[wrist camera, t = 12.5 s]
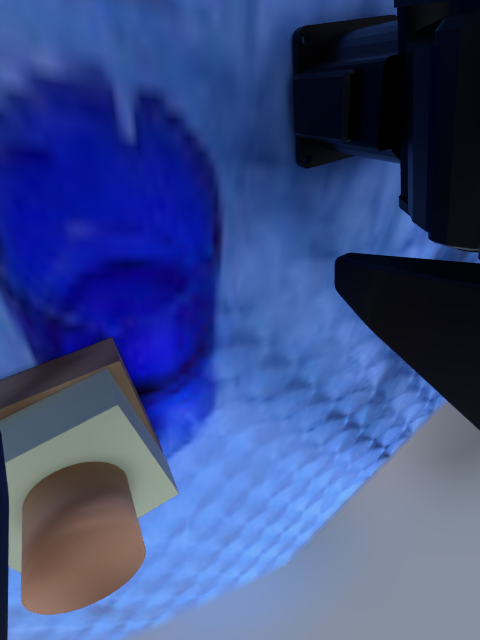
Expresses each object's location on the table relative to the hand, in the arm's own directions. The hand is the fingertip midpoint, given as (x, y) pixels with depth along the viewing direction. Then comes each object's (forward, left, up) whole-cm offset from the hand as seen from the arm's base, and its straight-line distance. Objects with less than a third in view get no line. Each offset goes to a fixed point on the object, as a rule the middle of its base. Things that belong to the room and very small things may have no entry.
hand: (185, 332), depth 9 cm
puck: (+6, +12, -7) cm, 15 cm away
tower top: (+7, +12, -10) cm, 17 cm away
